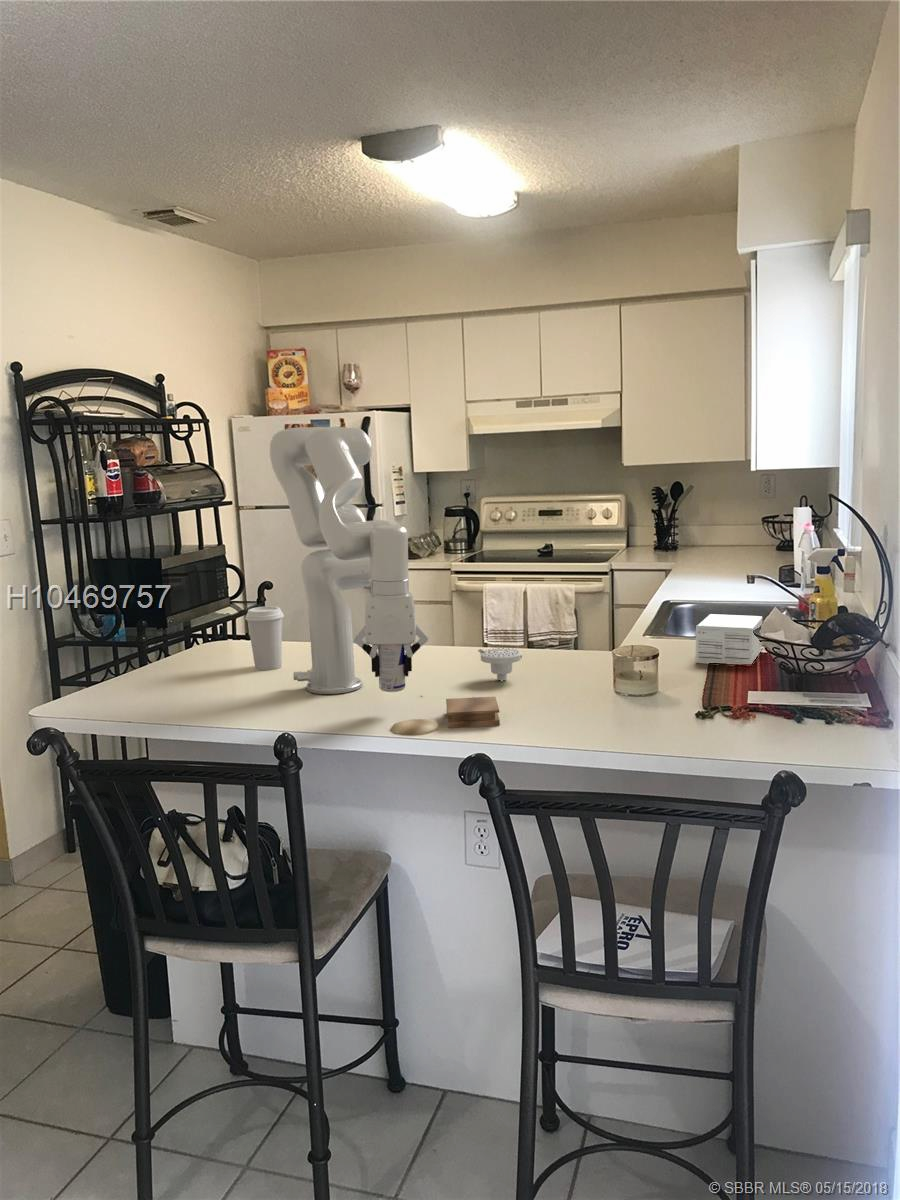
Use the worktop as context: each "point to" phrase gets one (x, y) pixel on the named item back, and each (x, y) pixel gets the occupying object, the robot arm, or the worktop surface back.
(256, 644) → the coffee cup
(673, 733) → the worktop surface
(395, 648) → the energy drink
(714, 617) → the supplement box
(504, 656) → the showerhead
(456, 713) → the walnut stand
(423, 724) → the cork coaster
